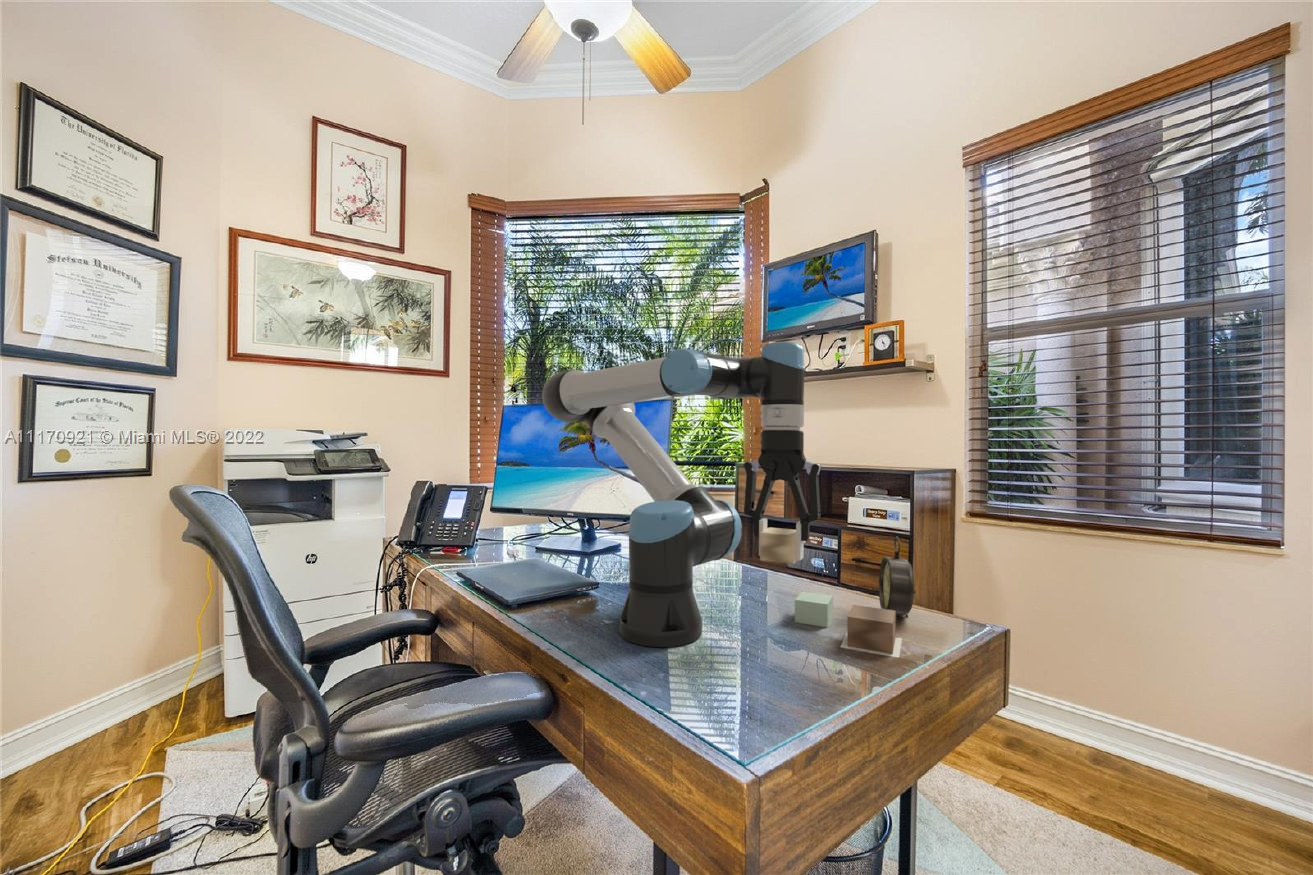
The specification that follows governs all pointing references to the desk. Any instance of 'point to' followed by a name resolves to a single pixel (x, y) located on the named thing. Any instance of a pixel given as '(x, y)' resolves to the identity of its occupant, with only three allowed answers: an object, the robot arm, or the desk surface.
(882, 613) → the walnut brick
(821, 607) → the sage brick
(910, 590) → the alarm clock
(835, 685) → the desk surface
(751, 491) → the robot arm
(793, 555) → the maple brick
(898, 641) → the mat
